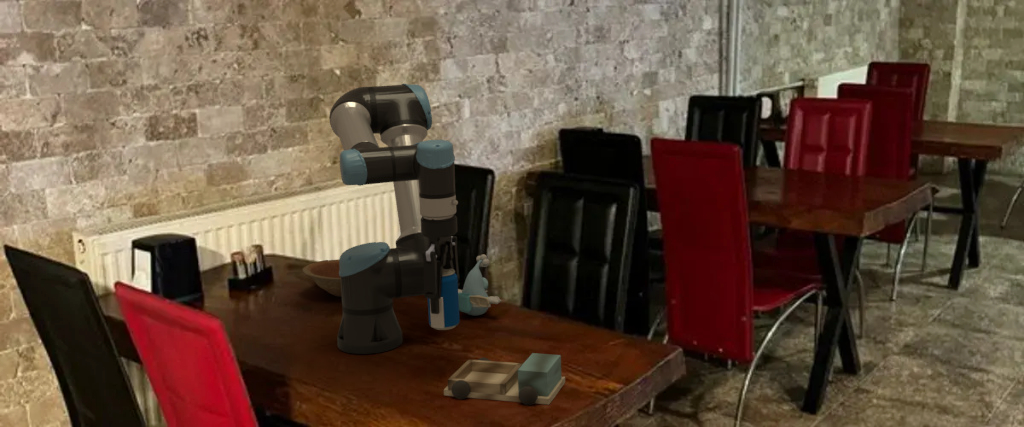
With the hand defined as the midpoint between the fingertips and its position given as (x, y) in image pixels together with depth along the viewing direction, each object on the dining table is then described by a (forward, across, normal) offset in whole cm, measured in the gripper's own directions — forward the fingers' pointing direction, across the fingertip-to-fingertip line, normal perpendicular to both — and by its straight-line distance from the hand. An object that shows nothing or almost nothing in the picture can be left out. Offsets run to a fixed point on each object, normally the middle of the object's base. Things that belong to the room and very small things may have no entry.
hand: (444, 321), depth 211 cm
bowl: (+13, +51, +50) cm, 73 cm away
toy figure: (+12, +39, +8) cm, 42 cm away
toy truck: (+11, -7, -16) cm, 20 cm away
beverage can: (+1, 0, 0) cm, 1 cm away
